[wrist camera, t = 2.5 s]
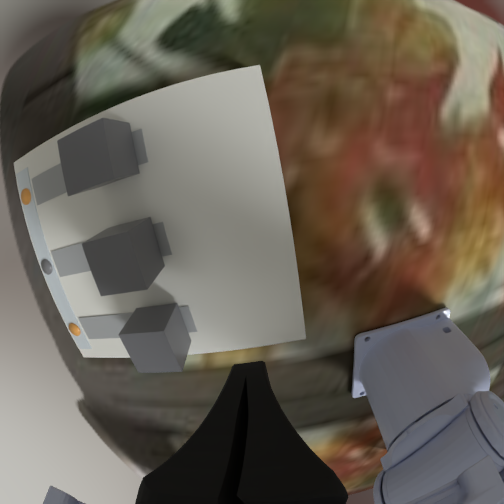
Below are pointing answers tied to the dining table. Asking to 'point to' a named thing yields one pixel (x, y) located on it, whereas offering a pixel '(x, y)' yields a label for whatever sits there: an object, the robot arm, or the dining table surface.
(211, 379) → the dining table surface
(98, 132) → the gray cube
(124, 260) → the dark gray cube
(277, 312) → the switch panel
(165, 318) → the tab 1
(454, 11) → the dining table surface
